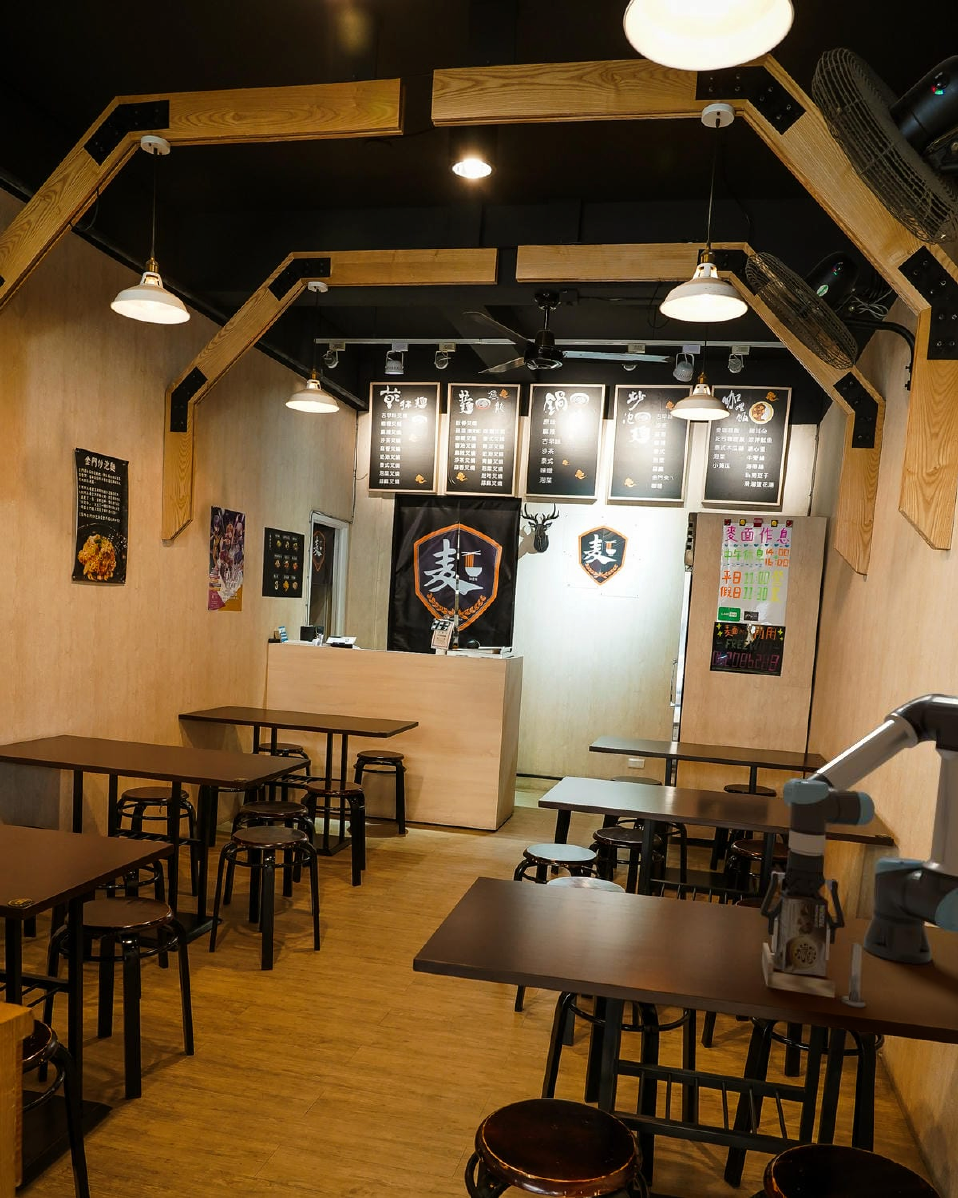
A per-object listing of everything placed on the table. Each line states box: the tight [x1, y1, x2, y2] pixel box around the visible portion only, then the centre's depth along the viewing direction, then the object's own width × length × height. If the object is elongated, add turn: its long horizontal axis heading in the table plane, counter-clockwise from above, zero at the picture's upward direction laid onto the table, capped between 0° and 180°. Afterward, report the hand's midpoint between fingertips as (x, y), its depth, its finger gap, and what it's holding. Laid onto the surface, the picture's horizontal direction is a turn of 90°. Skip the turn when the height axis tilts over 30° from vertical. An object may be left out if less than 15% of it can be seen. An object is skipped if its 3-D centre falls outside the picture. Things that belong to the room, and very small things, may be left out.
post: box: [841, 942, 866, 1009], centre depth 185 cm, size 4×4×12 cm
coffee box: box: [773, 889, 829, 976], centre depth 196 cm, size 9×6×16 cm
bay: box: [761, 942, 836, 999], centre depth 195 cm, size 14×14×5 cm
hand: (799, 954), depth 195 cm, fingers closed on coffee box, 10 cm apart
